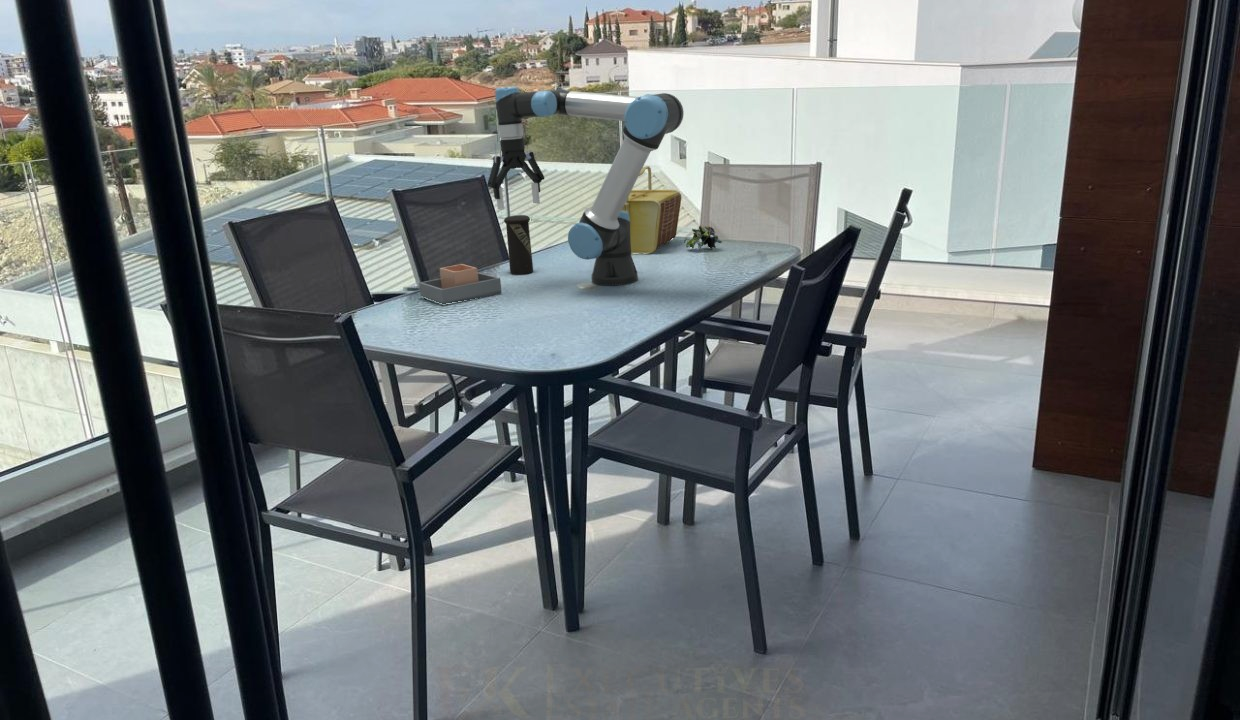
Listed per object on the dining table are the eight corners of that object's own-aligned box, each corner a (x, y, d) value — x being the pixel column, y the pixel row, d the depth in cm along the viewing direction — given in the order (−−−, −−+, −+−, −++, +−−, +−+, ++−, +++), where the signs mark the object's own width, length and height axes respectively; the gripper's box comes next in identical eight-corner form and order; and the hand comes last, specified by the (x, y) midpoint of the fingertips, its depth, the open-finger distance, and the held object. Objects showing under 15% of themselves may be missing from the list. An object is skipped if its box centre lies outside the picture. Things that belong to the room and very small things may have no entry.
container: (522, 276, 314) (517, 218, 308) (503, 273, 320) (498, 216, 314) (539, 271, 321) (534, 214, 315) (520, 268, 326) (515, 213, 320)
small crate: (479, 292, 289) (477, 267, 286) (457, 297, 284) (454, 272, 282) (464, 288, 296) (461, 263, 294) (442, 292, 292) (439, 268, 289)
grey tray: (501, 293, 290) (500, 278, 289) (443, 305, 279) (441, 289, 277) (477, 286, 302) (476, 271, 301) (420, 298, 291) (418, 282, 289)
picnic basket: (661, 256, 335) (658, 173, 326) (596, 254, 344) (591, 174, 335) (684, 241, 361) (681, 164, 352) (623, 240, 370) (619, 165, 361)
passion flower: (710, 263, 344) (728, 238, 338) (695, 263, 335) (713, 237, 330) (690, 244, 348) (708, 219, 343) (675, 244, 339) (693, 218, 334)
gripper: (537, 134, 296) (544, 200, 302) (471, 142, 281) (479, 211, 287) (551, 134, 290) (557, 201, 296) (483, 142, 275) (492, 212, 282)
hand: (519, 206), depth 292 cm, fingers open, 13 cm apart
